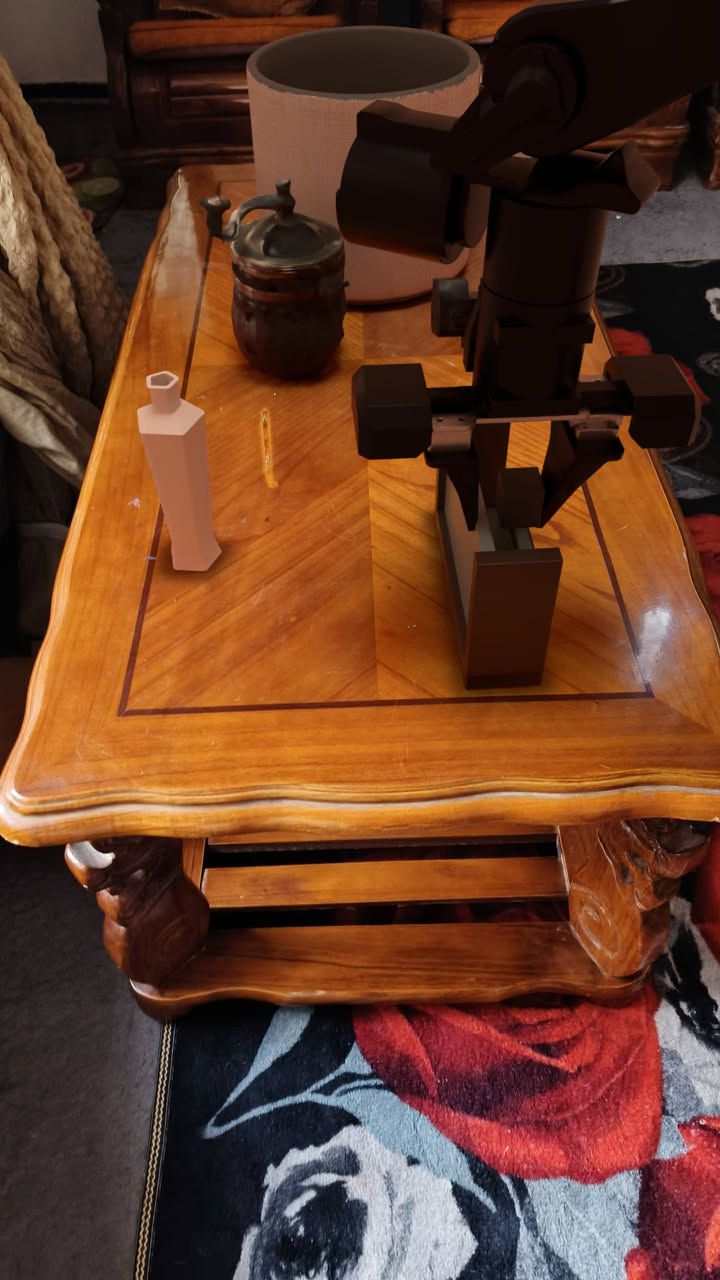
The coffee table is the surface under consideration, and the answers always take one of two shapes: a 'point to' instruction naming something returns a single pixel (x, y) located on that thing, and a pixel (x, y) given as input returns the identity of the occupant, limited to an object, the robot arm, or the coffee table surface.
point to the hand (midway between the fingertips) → (504, 525)
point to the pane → (517, 507)
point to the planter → (351, 127)
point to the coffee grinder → (283, 283)
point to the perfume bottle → (180, 471)
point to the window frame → (494, 580)
